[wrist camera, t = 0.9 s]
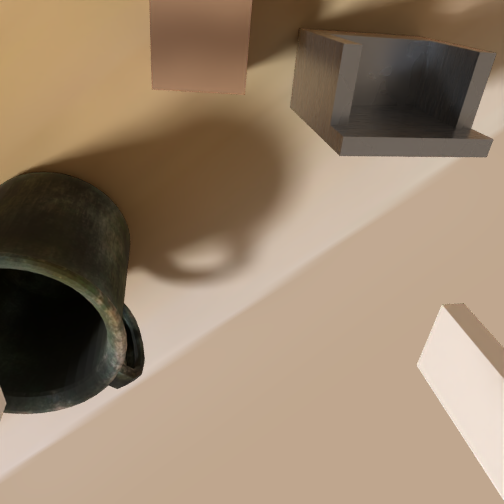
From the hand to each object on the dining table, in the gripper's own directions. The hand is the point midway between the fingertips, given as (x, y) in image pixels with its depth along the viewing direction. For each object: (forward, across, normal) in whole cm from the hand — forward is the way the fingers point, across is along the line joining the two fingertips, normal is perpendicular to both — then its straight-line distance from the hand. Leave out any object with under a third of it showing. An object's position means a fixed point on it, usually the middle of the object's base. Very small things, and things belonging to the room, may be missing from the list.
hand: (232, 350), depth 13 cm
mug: (+21, -9, -9) cm, 24 cm away
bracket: (+21, +11, +5) cm, 24 cm away
